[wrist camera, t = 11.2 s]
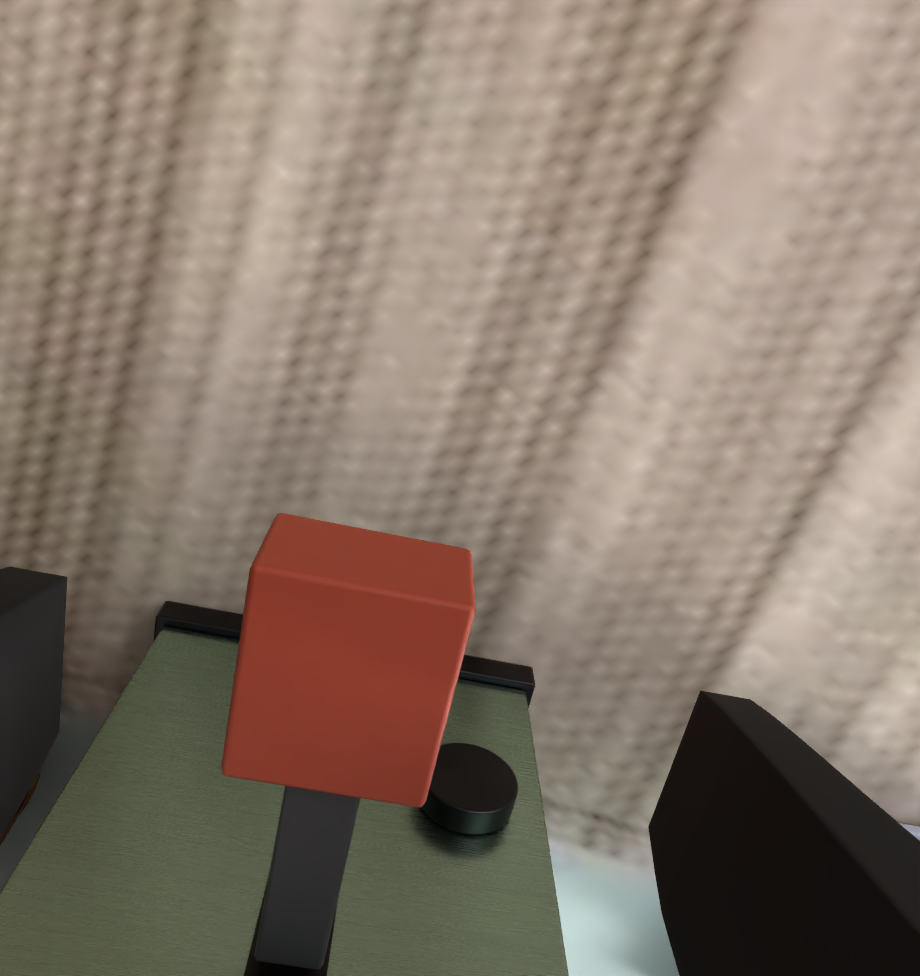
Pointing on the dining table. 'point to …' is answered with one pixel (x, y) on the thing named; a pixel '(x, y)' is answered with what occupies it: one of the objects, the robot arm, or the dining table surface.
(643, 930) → the dining table surface
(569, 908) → the dining table surface
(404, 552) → the lever
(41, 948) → the toaster
